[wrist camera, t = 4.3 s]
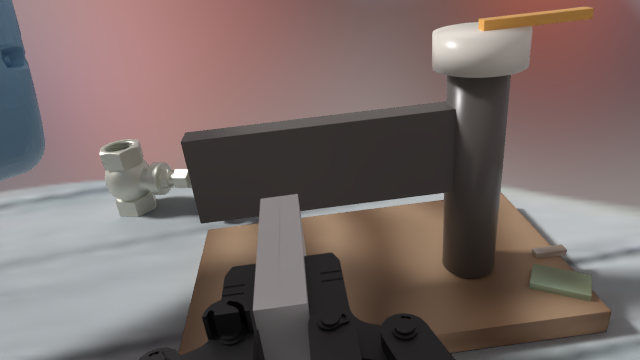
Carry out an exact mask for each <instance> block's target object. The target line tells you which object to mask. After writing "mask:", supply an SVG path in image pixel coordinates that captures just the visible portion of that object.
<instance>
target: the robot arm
mask: <svg viewBox="0 0 640 360" xmlns="http://www.w3.org/2000/svg"><path fill="white" fill-rule="evenodd" d="M44 149H45V139H44V132H43V126H42V120H41V115H40V110H39V106H38V102H37V97H36V93H35V89H34V84H33V80H32V77H31V73H30V69H29V65H28V62H27V60H26V59H25V50H24V46H23V43H22V39H21V33H20V29H19V25H18V21H17V17H16V14H15V10H14V6H13V3H12V0H0V181H1V180H4V179H7V178H10V177H14V176H16V175H20V174H23V173H25V172H27V171H29V170H31V169H32V168H33V167H35V166H36V165H37V164H38V163H39V161H40V160H41V158H42V156H43V154H44ZM202 320H203V324H204V327H205V331H206V334H207V338H208V342H207V343H205V344H204V345H202V346H201V347H199V348H197V349H195V350H193V351H190V352H188V353H185V354H183V355H180V354H179V353H178V352H177V351H176V350H175V349H171V348H158V349H155V350H153V351H150V352H148V353H146V354H145V355H143V356H142V357H141V358H139V360H455V359H454V358H453V356H452V355H451V354H450V353H449V351H448V350H447V349H446V347H445V346H444V345H443V344H442V342H441V341H440V340H439V338H438V337H437V336H436V335H435V333H434V332H433V331H432V330H431V328H430V327H429V326H428V324H427V323H426V322H425V321H424V320H422V319H421V318H420V317H418V316H415V315H413V314H406V313H400V314H395V315H392V316H390V317H388V318H386V320H385V321H384V322H383V323H382V325H378V324H371V323H366V322H363V321H361V320H359V319H358V318H356V317H355V316H354V315H353V314H352V312H351V310H350V307H349V302H348V298H347V293H346V288H345V283H344V279H343V273H342V269H341V264H340V260H339V259H338V258H337V257H336V256H335V255H334V254H333V253H332V252H330V253H323V254H315V255H308V256H306V249H305V242H304V235H303V228H302V221H301V214H300V207H299V200H298V194H293V195H286V196H278V197H270V198H263V199H260V213H259V227H258V242H257V257H256V264H248V265H241V266H234V267H232V268H231V269H230V270H229V272H228V273H227V274H226V276H225V278H224V284H223V290H222V298H221V300H219V301H217V302H215V303H213V304H212V305H210V306H209V307H208V308H207V309H206V310H205V311H204V313H203V316H202Z"/></svg>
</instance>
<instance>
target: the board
mask: <svg viewBox="0 0 640 360" xmlns="http://www.w3.org/2000/svg"><path fill="white" fill-rule="evenodd" d="M443 218H444V200H439V201H431V202H423V203H416V204H408V205H400V206H392V207H384V208H376V209H368V210H360V211H352V212H345V213H337V214H329V215H321V216H313V217H305V218H301V221H302V228H303V235H304V242H305V249H306V256H308V255H315V254H323V253H330V252H332V253H333V254H334V255H335V256H336V257H337V258H338V259H339V260H340V264H341V269H342V273H343V279H344V283H345V288H346V293H347V298H348V302H349V307H350V310H351V312H352V314H353V315H354V316H355V317H356V318H358V319H359V320H361V321H363V322H366V323H371V324H378V325H382V323H383V322H384V321H385V320H386V318H388V317H390V316H392V315H395V314H400V313H406V314H413V315H415V316H418V317H420V318H421V319H422V320H424V321H425V322H426V323H427V324H428V326H429V327H430V328H431V330H432V331H433V332H434V333H435V335H436V336H437V337H438V338H439V340H440V341H441V342H442V344H443V345H444V346H445V347H446V349H447V350H448V351H449V353H453V352H460V351H468V350H475V349H482V348H489V347H497V346H504V345H511V344H518V343H526V342H533V341H540V340H548V339H555V338H562V337H569V336H577V335H584V334H591V333H598V332H606V331H607V327H608V323H609V319H610V315H611V310H610V309H609V308H608V307H607V306H606V305H605V304H604V303H603V302H602V300H601V299H600V298H599V297H598V296H597V295H596V294H595V293H594V292H593V291H592V275H589V274H584V273H579V272H575V271H574V270H573V269H572V268H571V267H570V266H569V265H568V264H567V263H566V262H565V261H564V259H563V258H562V257H561V255H566V252H567V249H566V248H565V247H564V246H563V245H555V246H551V245H550V244H549V243H548V242H547V241H546V240H545V239H544V238H543V237H542V236H541V235H540V234H539V233H538V231H537V230H536V229H535V228H534V227H533V226H532V225H531V224H530V223H529V222H528V221H527V220H526V219H525V217H524V216H523V215H522V214H521V213H520V212H519V211H518V210H517V209H516V208H515V207H514V206H513V204H512V203H511V202H510V201H509V200H508V199H507V198H506V197H505V196H504V195H503V194H502V193H500V203H499V214H498V226H497V237H496V248H495V260H494V268H493V270H492V271H491V272H490V273H489V274H488V275H486V276H483V277H479V278H464V277H460V276H457V275H454V274H452V273H451V272H449V271H448V270H447V269H446V268H445V267H444V265H443V262H442V255H443ZM258 227H259V223H258V224H250V225H242V226H234V227H226V228H219V229H211V230H208V233H207V237H206V241H205V245H204V249H203V254H202V258H201V262H200V266H199V270H198V274H197V278H196V282H195V287H194V291H193V295H192V299H191V303H190V307H189V311H188V316H187V320H186V324H185V328H184V332H183V336H182V340H181V345H180V349H179V354H180V355H183V354H185V353H188V352H190V351H193V350H195V349H197V348H199V347H201V346H202V345H204V344H205V343H207V342H208V338H207V334H206V331H205V327H204V324H203V320H202V316H203V313H204V311H205V310H206V309H207V308H208V307H209V306H210V305H212V304H213V303H215V302H217V301H219V300H221V298H222V290H223V284H224V278H225V276H226V274H227V273H228V272H229V270H230V269H231V268H232V267H234V266H241V265H248V264H256V257H257V242H258Z"/></svg>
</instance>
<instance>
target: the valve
mask: <svg viewBox="0 0 640 360" xmlns="http://www.w3.org/2000/svg"><path fill="white" fill-rule="evenodd" d="M100 157H101V160H102V163H103V166H104V168H105V170H106V172H105V182H106V186H107V188H108V190H109V191H110V193H111V194H112V195H113V196H114V197H115V198H116V204H117V207H118V210H119V213H120V216H122V217H139V216H141V215H143V214H145V213H148V212H150V211H152V210H154V209H155V208H156V197H155V195H165V194H167V193H168V192H169V191H170V189H171V188H173V187H174V186H175V187H176V188H192V185H191V181H190V177H189V173H188V169H175V172H174V170H171V168H170V166H169V165H168V164H167V163H164V162H161V163H159V162H157V163H152V164H151V165H150V166H149V165H148V163H147V162H146V161H145V160H144V159H143V152H142V149H141V146H140V142H139V140H135V139H125V140H119V141H115V142H112V143H109V144H107V145H105V146H103V147H102V148H101V149H100Z"/></svg>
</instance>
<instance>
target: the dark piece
mask: <svg viewBox="0 0 640 360" xmlns="http://www.w3.org/2000/svg"><path fill="white" fill-rule="evenodd" d="M593 11H594V8H589V7H579V8H570V9H562V10H554V11H544V12H535V13H526V14H517V15H509V16H500V17H491V18H483V19H479V22H474V23H463V24H456V25H450V26H445V27H442V28H439V29H436V30H435V31H433V38H432V41H433V42H432V69H433V70H434V71H435V72H438V73H440V74H443V75H447V101H446V102H438V103H429V104H422V105H413V106H405V107H396V108H388V109H380V110H371V111H363V112H355V113H346V114H338V115H330V116H321V117H313V118H304V119H296V120H288V121H280V122H272V123H263V124H254V125H246V126H238V127H230V128H221V129H213V130H205V131H196V132H187V133H185V135H184V137H183V139H182V141H181V145H182V149H183V153H184V157H185V161H186V165H187V169H188V173H189V177H190V181H191V185H192V189H193V193H194V197H195V201H196V206H197V210H198V214H199V218H200V222H201V223H209V222H217V221H225V220H232V219H240V218H248V217H256V216H259V213H260V199H263V198H270V197H278V196H286V195H293V194H298V200H299V207H300V211H304V210H312V209H319V208H327V207H335V206H343V205H351V204H359V203H367V202H375V201H383V200H391V199H399V198H406V197H414V196H422V195H430V194H438V193H444V218H443V255H442V262H443V265H444V267H445V268H446V269H447V270H448V271H449V272H451V273H452V274H454V275H457V276H460V277H464V278H479V277H483V276H486V275H488V274H489V273H490V272H491V271H492V270H493V268H494V260H495V248H496V237H497V226H498V214H499V203H500V192H501V179H502V169H503V158H504V145H505V135H506V124H507V112H508V101H509V89H510V78H511V74H515V73H518V72H521V71H523V70H525V69H526V68H528V66H529V58H530V48H531V39H532V27H531V26H532V25H540V24H550V23H559V22H567V21H576V20H584V19H592V17H593Z"/></svg>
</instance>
